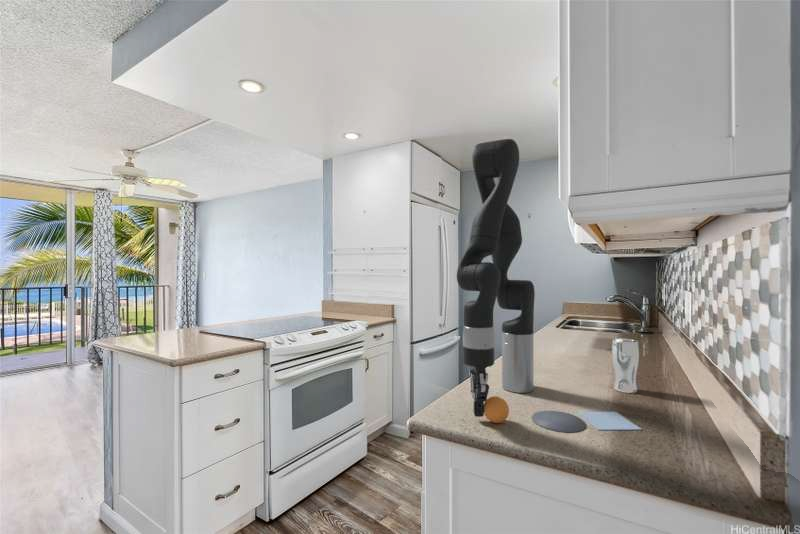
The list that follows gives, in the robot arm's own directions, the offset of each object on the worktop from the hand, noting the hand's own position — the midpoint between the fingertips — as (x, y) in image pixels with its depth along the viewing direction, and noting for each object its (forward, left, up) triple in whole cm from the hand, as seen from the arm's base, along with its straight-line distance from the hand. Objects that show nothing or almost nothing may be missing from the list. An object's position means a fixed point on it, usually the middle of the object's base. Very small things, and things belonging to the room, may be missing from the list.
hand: (478, 415), depth 90 cm
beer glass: (-21, +49, -2) cm, 54 cm away
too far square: (+1, +31, -1) cm, 31 cm away
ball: (+1, +4, +2) cm, 4 cm away
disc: (+1, +19, -1) cm, 19 cm away
